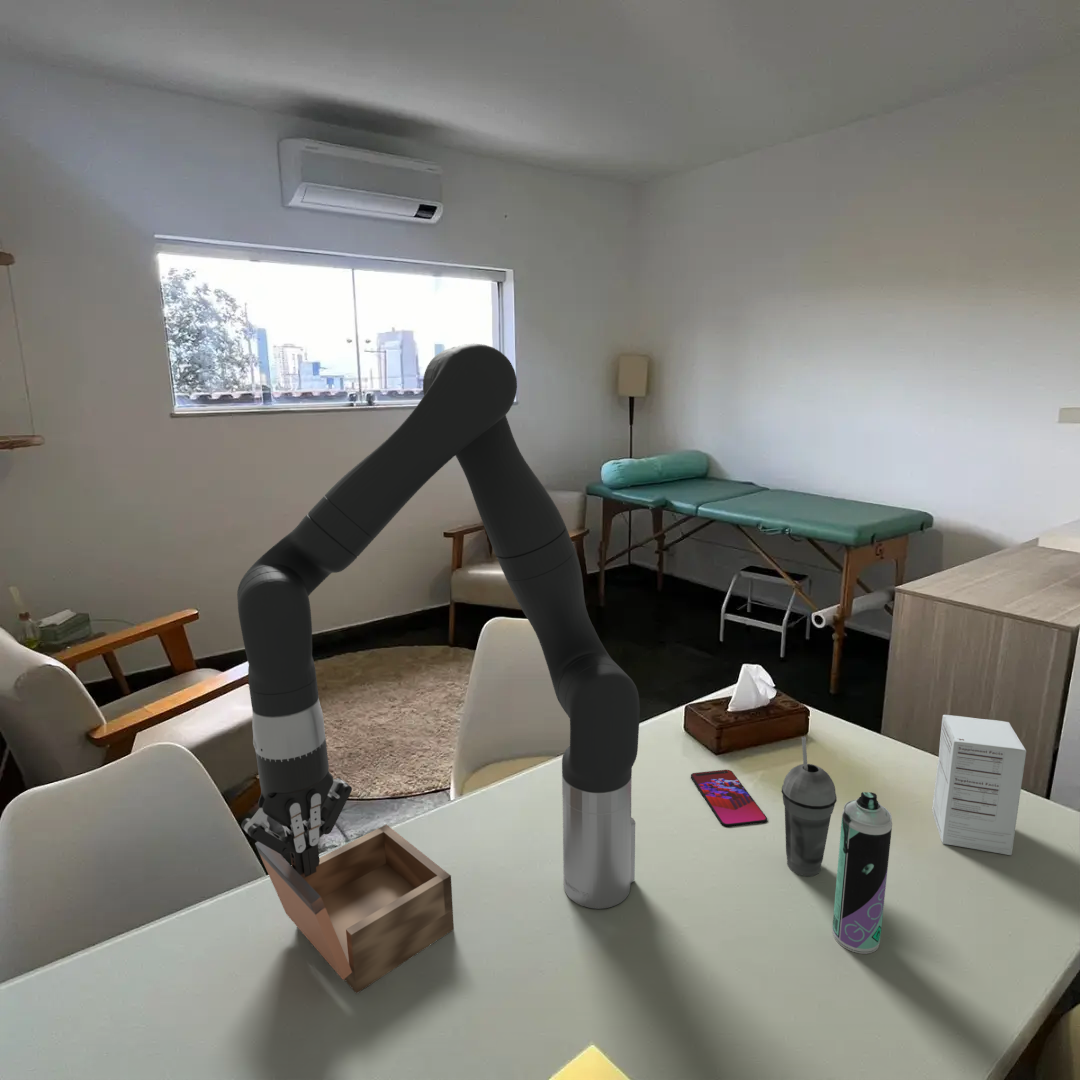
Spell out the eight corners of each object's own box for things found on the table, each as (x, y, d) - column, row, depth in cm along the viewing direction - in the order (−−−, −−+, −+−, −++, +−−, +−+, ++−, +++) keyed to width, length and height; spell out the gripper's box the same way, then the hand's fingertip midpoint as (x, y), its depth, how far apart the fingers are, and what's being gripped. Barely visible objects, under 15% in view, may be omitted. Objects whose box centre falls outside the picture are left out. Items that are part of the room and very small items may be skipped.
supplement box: (1013, 857, 106) (1029, 751, 102) (941, 845, 108) (954, 741, 105) (996, 819, 114) (1010, 720, 110) (930, 808, 117) (941, 712, 113)
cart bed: (390, 873, 105) (386, 824, 103) (453, 929, 94) (450, 875, 92) (297, 925, 95) (291, 871, 93) (356, 993, 85) (351, 934, 83)
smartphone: (722, 825, 113) (688, 773, 128) (722, 830, 114) (688, 777, 128) (769, 820, 115) (730, 768, 129) (769, 825, 115) (730, 773, 129)
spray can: (858, 960, 88) (873, 812, 83) (822, 930, 93) (834, 789, 88) (889, 943, 90) (905, 799, 86) (852, 915, 95) (865, 777, 90)
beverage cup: (835, 886, 100) (846, 754, 96) (779, 879, 102) (788, 749, 97) (826, 852, 107) (836, 727, 103) (774, 846, 109) (781, 723, 104)
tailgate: (294, 907, 94) (263, 837, 90) (352, 972, 84) (320, 896, 79) (286, 913, 94) (254, 843, 89) (343, 980, 83) (311, 904, 79)
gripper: (245, 775, 75) (265, 918, 79) (359, 729, 84) (372, 860, 88) (217, 749, 80) (238, 884, 85) (328, 708, 89) (341, 832, 93)
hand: (307, 871), depth 86 cm, fingers closed
